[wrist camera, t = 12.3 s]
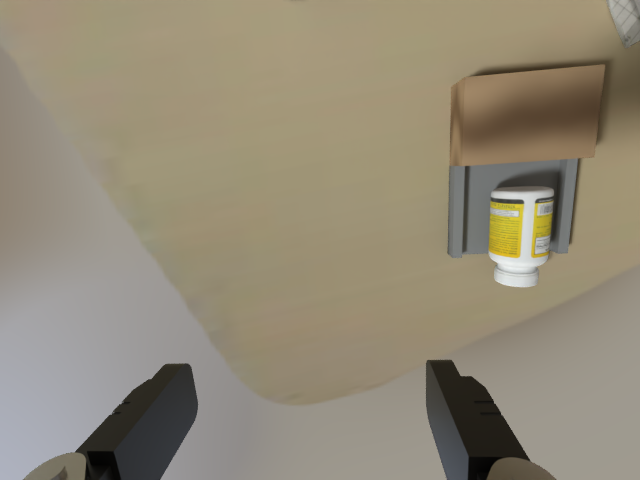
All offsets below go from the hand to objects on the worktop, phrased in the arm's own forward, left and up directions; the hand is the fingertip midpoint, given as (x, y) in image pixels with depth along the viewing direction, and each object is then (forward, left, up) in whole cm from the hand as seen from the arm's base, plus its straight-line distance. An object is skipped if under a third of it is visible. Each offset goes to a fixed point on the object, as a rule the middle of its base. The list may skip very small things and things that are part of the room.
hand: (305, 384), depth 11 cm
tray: (-1, +19, -28) cm, 34 cm away
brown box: (-10, +19, -28) cm, 35 cm away
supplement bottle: (-4, +19, -25) cm, 31 cm away
